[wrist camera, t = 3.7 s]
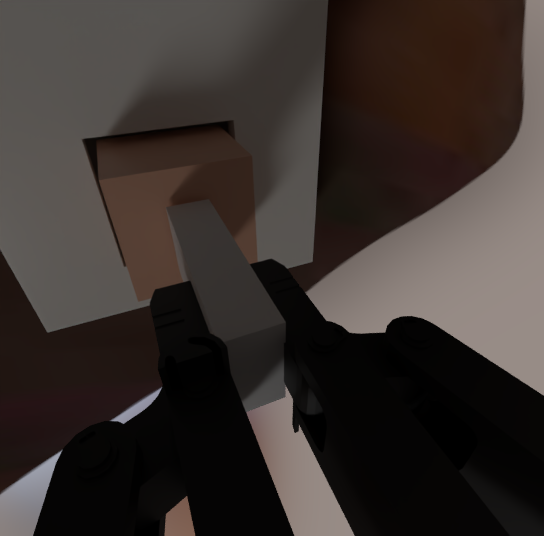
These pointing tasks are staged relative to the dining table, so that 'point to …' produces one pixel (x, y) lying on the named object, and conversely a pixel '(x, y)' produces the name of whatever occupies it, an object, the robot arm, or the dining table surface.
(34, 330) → the dining table surface
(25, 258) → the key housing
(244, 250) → the terracotta key
